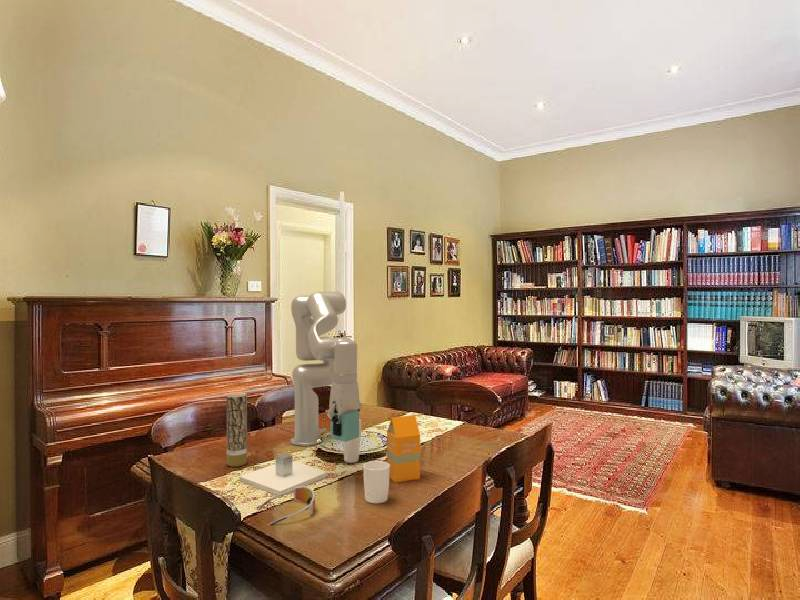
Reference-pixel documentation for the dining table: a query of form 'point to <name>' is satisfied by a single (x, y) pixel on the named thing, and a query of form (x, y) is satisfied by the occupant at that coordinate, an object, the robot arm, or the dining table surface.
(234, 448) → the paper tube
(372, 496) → the white cup
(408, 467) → the orange juice
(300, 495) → the sunglasses
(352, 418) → the mint green cube
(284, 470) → the grey upright block
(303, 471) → the post board
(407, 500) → the dining table surface
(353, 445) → the drinking glass
